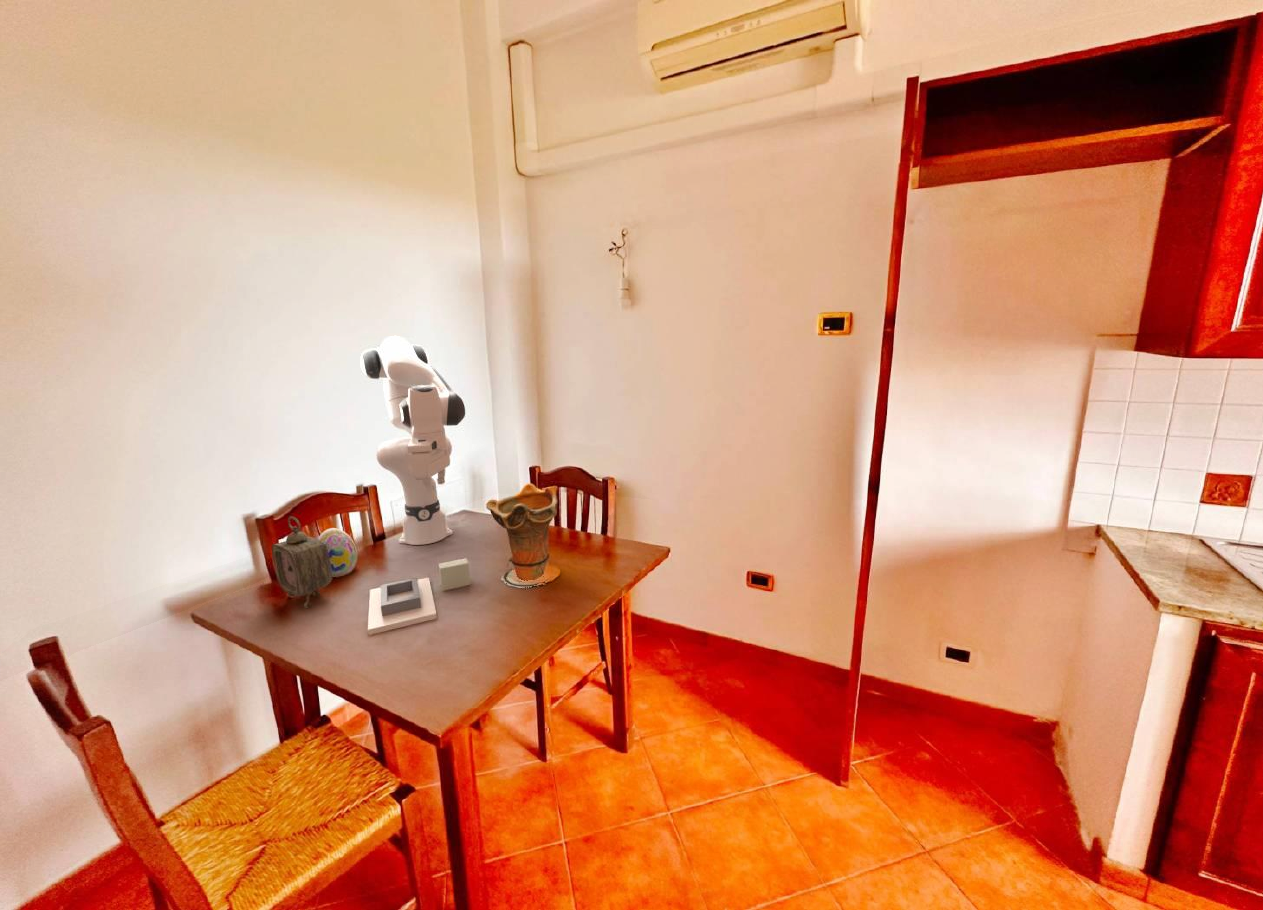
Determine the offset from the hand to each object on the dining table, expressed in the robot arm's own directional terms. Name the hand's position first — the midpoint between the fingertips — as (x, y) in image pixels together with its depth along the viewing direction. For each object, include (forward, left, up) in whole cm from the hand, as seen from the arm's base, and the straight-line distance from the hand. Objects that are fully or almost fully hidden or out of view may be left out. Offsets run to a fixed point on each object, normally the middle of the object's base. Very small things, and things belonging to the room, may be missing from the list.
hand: (436, 487), depth 147 cm
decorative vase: (+9, +24, -30) cm, 39 cm away
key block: (+4, +2, -30) cm, 30 cm away
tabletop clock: (-8, -37, -30) cm, 48 cm away
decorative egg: (-24, -31, -30) cm, 49 cm away
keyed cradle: (+10, -13, -30) cm, 34 cm away
